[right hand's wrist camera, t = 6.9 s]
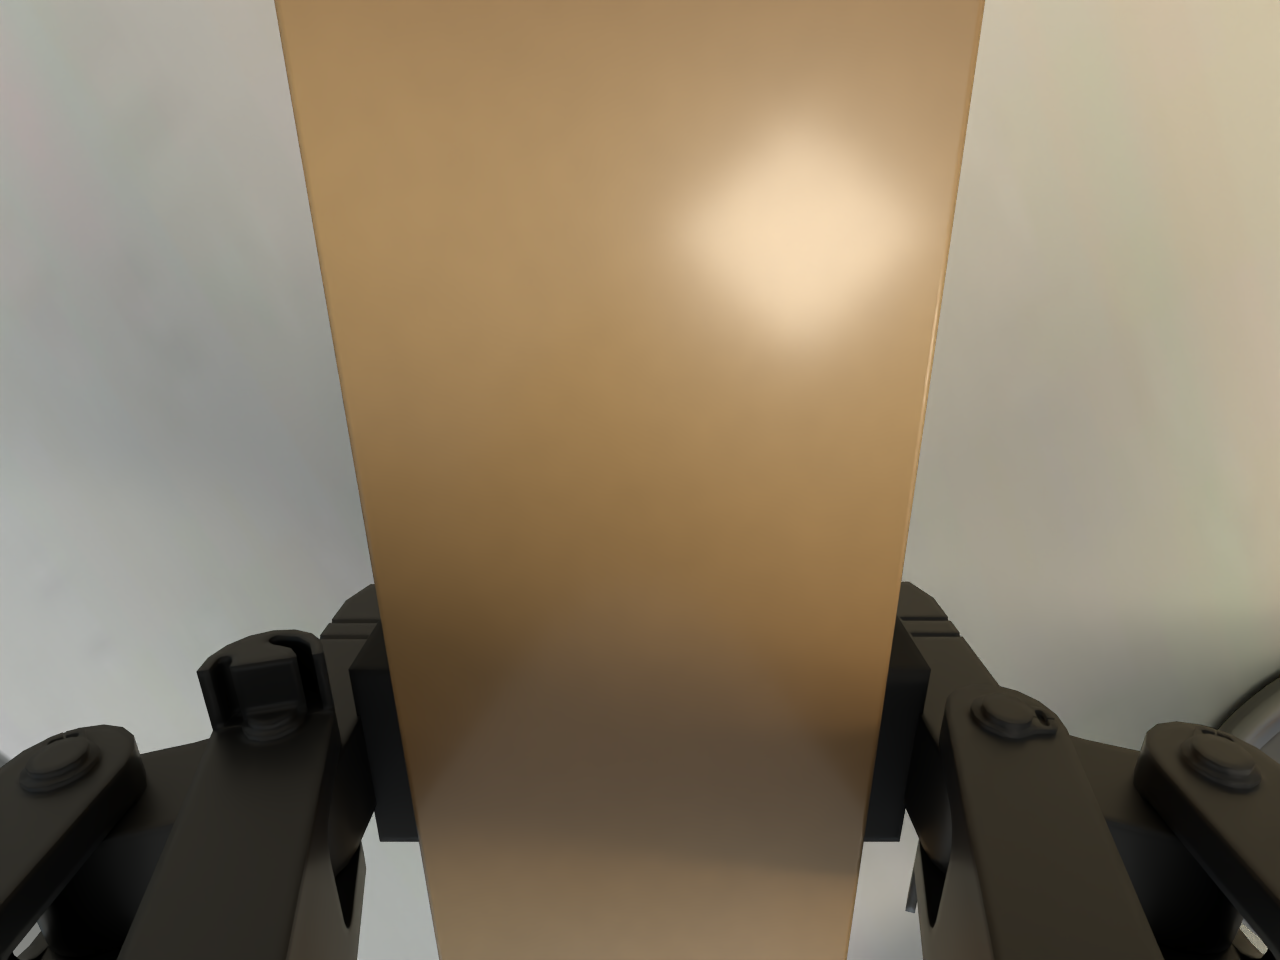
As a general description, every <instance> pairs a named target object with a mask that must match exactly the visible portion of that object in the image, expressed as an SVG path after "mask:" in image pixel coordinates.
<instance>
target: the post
mask: <svg viewBox="0 0 1280 960" xmlns="http://www.w3.org/2000/svg"><path fill="white" fill-rule="evenodd" d="M274 2H275V7H276V13H277V19H278V25H279V31H280V36H281V42H282V48H283V54H284V60H285V65H286V71H287V77H288V83H289V89H290V95H291V100H292V106H293V112H294V118H295V124H296V129H297V135H298V141H299V147H300V153H301V158H302V164H303V170H304V176H305V182H306V188H307V193H308V199H309V205H310V211H311V217H312V222H313V228H314V234H315V240H316V246H317V251H318V257H319V263H320V269H321V275H322V281H323V286H324V292H325V298H326V304H327V310H328V315H329V321H330V327H331V333H332V339H333V344H334V350H335V356H336V362H337V368H338V374H339V379H340V385H341V391H342V397H343V403H344V408H345V414H346V420H347V426H348V432H349V437H350V443H351V449H352V455H353V461H354V467H355V472H356V478H357V484H358V490H359V496H360V501H361V507H362V513H363V519H364V525H365V530H366V536H367V542H368V548H369V554H370V560H371V565H372V571H373V577H374V583H375V589H376V594H377V600H378V606H379V612H380V618H381V623H382V629H383V635H384V641H385V647H386V653H387V658H388V664H389V670H390V676H391V682H392V687H393V693H394V699H395V705H396V711H397V716H398V722H399V728H400V734H401V740H402V746H403V751H404V757H405V763H406V769H407V775H408V780H409V786H410V792H411V798H412V804H413V809H414V815H415V821H416V827H417V833H418V839H419V844H420V850H421V856H422V862H423V868H424V873H425V879H426V885H427V891H428V897H429V902H430V908H431V914H432V920H433V926H434V932H435V937H436V943H437V949H438V955H439V960H847V953H848V946H849V939H850V932H851V925H852V918H853V911H854V904H855V897H856V890H857V884H858V877H859V870H860V863H861V856H862V849H863V842H864V835H865V828H866V821H867V814H868V807H869V800H870V794H871V787H872V780H873V773H874V766H875V759H876V752H877V745H878V738H879V731H880V724H881V717H882V710H883V704H884V697H885V690H886V683H887V676H888V669H889V662H890V655H891V648H892V641H893V634H894V627H895V620H896V614H897V607H898V600H899V593H900V586H901V579H902V572H903V565H904V558H905V551H906V544H907V537H908V530H909V524H910V517H911V510H912V503H913V496H914V489H915V482H916V475H917V468H918V461H919V454H920V447H921V440H922V434H923V427H924V420H925V413H926V406H927V399H928V392H929V385H930V378H931V371H932V364H933V357H934V351H935V344H936V337H937V330H938V323H939V316H940V309H941V302H942V295H943V288H944V281H945V274H946V267H947V261H948V254H949V247H950V240H951V233H952V226H953V219H954V212H955V205H956V198H957V191H958V184H959V177H960V171H961V164H962V157H963V150H964V143H965V136H966V129H967V122H968V115H969V108H970V101H971V94H972V87H973V81H974V74H975V67H976V60H977V53H978V46H979V39H980V32H981V25H982V18H983V11H984V4H985V0H274Z"/></svg>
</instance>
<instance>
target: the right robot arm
mask: <svg viewBox="0 0 1280 960" xmlns="http://www.w3.org/2000/svg"><path fill="white" fill-rule="evenodd" d="M959 634H960V633H959V631H958V630H957V629H956V627H955V626H954V625H953V623H952V622H951V621H948V617H947V615H946V614H945V613H944V611H943V610H942V609H941V607H940V606H939V605H938V603H937V602H936V601H935V599H934V598H933V597H931V596H930V595H928V594H927V593H925V592H924V591H922V590H921V589H919V588H918V587H916V586H914V585H913V584H911V583H910V582H901V586H900V593H899V600H898V607H897V614H896V620H895V627H894V634H893V641H892V648H891V655H890V662H889V669H888V676H887V683H886V690H885V697H884V704H883V710H882V717H881V724H880V731H879V738H878V745H877V752H876V759H875V766H874V773H873V780H872V787H871V794H870V800H869V807H868V814H867V821H866V828H865V835H864V842H899V841H900V836H901V830H902V825H903V820H904V814H905V809H906V810H907V812H908V814H909V817H910V819H911V821H912V823H913V826H914V828H915V830H916V832H917V835H918V837H919V842H918V847H917V852H916V857H915V862H914V867H913V872H912V877H911V882H910V887H909V892H908V898H907V904H906V911H908V912H912V913H915V909H916V904H917V903H918V913H919V922H920V932H921V942H922V952H923V960H1280V677H1279V678H1278V679H1276V680H1275V681H1273V682H1272V683H1270V684H1269V685H1267V686H1266V687H1264V688H1263V689H1262V690H1260V691H1259V692H1258V693H1256V694H1255V695H1254V696H1253V697H1251V698H1250V699H1249V700H1248V701H1247V702H1245V703H1244V704H1243V705H1242V706H1241V707H1240V708H1239V709H1237V710H1236V711H1235V712H1234V713H1233V714H1232V715H1231V716H1230V717H1229V718H1228V719H1227V720H1226V721H1225V722H1224V723H1223V724H1222V725H1221V727H1220V728H1219V729H1218V730H1216V729H1214V728H1211V727H1207V726H1203V725H1199V724H1191V723H1184V722H1177V721H1176V722H1169V723H1161V724H1157V725H1155V726H1154V727H1153V728H1152V729H1150V730H1149V731H1148V732H1147V733H1146V736H1145V739H1144V742H1143V745H1142V748H1141V751H1136V750H1131V749H1127V748H1122V747H1117V746H1113V745H1108V744H1103V743H1099V742H1094V741H1089V740H1085V739H1081V738H1078V737H1074V736H1071V735H1069V733H1068V731H1067V729H1066V727H1065V726H1064V725H1063V723H1062V722H1061V720H1060V719H1059V718H1058V716H1057V715H1056V714H1055V713H1054V712H1052V711H1051V710H1050V709H1048V708H1047V707H1046V706H1044V705H1043V704H1042V703H1041V702H1039V701H1037V700H1035V699H1033V698H1031V697H1029V696H1027V695H1025V694H1023V693H1021V692H1018V691H1016V690H1012V689H1008V688H1004V687H1000V686H999V685H998V683H997V682H996V681H995V679H994V678H993V677H992V675H991V674H990V673H989V671H988V670H987V669H986V667H985V666H984V665H983V663H982V662H981V661H980V659H979V658H978V657H977V655H976V654H975V653H974V651H973V650H972V649H971V647H970V646H969V645H968V643H967V642H966V641H965V639H964V638H963V637H960V635H959ZM197 675H198V679H199V682H200V686H201V689H202V693H203V696H204V700H205V703H206V707H207V711H208V714H209V718H210V721H211V725H212V728H213V732H212V734H211V737H210V738H209V739H206V740H202V741H198V742H195V743H190V744H186V745H181V746H176V747H172V748H167V749H163V750H158V751H153V752H149V753H144V754H140V753H139V750H138V747H137V744H136V741H135V738H134V735H133V734H131V733H130V732H129V731H127V730H126V729H125V728H123V727H118V726H111V725H97V726H90V727H83V728H77V729H74V730H70V731H66V732H65V733H60V734H57V735H55V736H52V737H49V738H47V739H46V740H44V741H42V742H40V743H38V744H36V745H34V746H32V747H30V748H28V749H26V750H24V751H23V752H21V753H20V754H19V755H17V756H16V757H14V758H13V759H12V760H10V761H9V762H8V763H6V764H5V765H4V766H2V767H1V768H0V960H357V954H358V944H359V934H360V924H361V914H362V905H363V895H364V885H365V875H366V864H365V858H364V852H363V847H362V842H361V839H362V837H363V835H364V833H365V830H366V828H367V826H368V823H369V821H370V819H371V817H372V814H373V812H375V817H376V822H377V828H378V833H379V839H380V842H419V839H418V833H417V827H416V821H415V815H414V809H413V804H412V798H411V792H410V786H409V780H408V775H407V769H406V763H405V757H404V751H403V746H402V740H401V734H400V728H399V722H398V716H397V711H396V705H395V699H394V693H393V687H392V682H391V676H390V670H389V664H388V658H387V653H386V647H385V641H384V635H383V629H382V623H381V618H380V612H379V606H378V600H377V594H376V589H375V584H370V585H369V586H367V587H366V588H364V589H363V590H361V591H360V592H358V593H357V594H355V595H354V596H352V597H351V598H349V599H348V600H346V601H345V603H344V604H343V605H342V607H341V608H340V609H339V611H338V612H337V613H336V615H335V616H334V617H333V619H332V623H329V624H328V626H327V627H326V628H325V630H324V631H323V632H322V634H321V635H320V639H318V638H317V637H316V636H314V635H313V634H312V633H308V632H303V631H299V630H273V631H269V632H264V633H260V634H256V635H251V636H248V637H246V638H243V639H241V640H238V641H236V642H234V643H231V644H229V645H227V646H225V647H224V648H222V649H221V650H219V651H218V652H216V653H215V654H213V655H211V656H210V657H208V658H207V660H206V661H205V662H204V663H203V664H202V666H201V667H200V668H199V669H198V670H197ZM36 922H37V923H38V925H39V927H40V929H41V932H40V933H39V934H38V936H37V937H36V938H35V939H34V941H33V942H32V943H31V945H30V946H29V947H28V948H27V949H26V950H24V951H23V952H22V953H21V954H20V955H19V956H18V957H16V956H14V954H13V950H14V949H15V948H16V947H17V946H18V944H19V943H20V942H21V941H22V939H23V938H24V937H25V936H26V935H27V933H28V932H29V931H30V930H31V928H32V927H33V926H34V925H35V923H36ZM1241 923H1243V924H1244V925H1245V926H1246V927H1247V928H1248V929H1250V930H1251V931H1252V932H1253V933H1255V934H1256V935H1257V936H1259V937H1260V939H1261V940H1262V941H1263V942H1264V943H1265V945H1266V946H1267V947H1268V950H1267V952H1266V953H1265V954H1262V953H1261V952H1260V951H1259V950H1258V949H1257V948H1256V947H1255V946H1254V945H1253V944H1252V943H1251V942H1250V941H1249V940H1248V938H1247V937H1246V936H1245V935H1244V933H1243V932H1242V931H1241V930H1240V925H1241Z"/></svg>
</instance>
